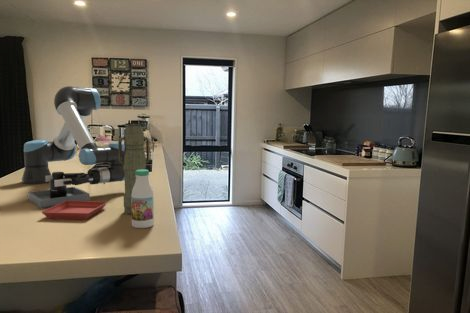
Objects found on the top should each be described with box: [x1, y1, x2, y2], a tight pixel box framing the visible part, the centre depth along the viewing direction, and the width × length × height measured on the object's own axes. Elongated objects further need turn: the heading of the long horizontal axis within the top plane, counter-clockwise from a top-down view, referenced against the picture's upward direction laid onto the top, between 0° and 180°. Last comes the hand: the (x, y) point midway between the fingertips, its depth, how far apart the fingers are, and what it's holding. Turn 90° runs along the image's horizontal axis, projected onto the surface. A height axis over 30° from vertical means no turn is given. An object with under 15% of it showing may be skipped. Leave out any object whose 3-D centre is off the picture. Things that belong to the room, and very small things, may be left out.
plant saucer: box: [41, 201, 108, 220], centre depth 140 cm, size 18×18×3 cm
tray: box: [27, 186, 91, 210], centre depth 159 cm, size 20×20×4 cm
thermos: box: [117, 124, 151, 216], centre depth 142 cm, size 9×12×35 cm
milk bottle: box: [131, 169, 155, 229], centre depth 125 cm, size 8×8×20 cm
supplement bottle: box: [49, 171, 68, 199], centre depth 159 cm, size 7×7×12 cm
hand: (50, 181), depth 156 cm, fingers open, 13 cm apart
